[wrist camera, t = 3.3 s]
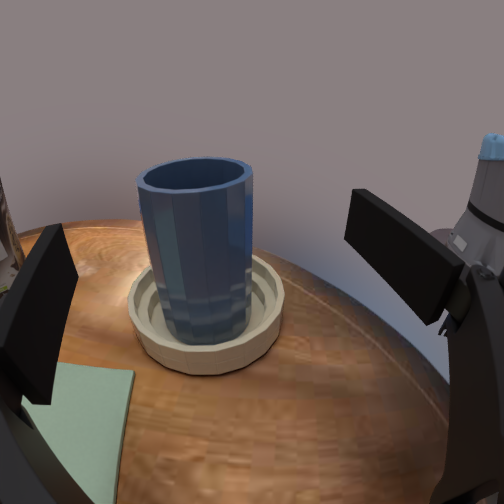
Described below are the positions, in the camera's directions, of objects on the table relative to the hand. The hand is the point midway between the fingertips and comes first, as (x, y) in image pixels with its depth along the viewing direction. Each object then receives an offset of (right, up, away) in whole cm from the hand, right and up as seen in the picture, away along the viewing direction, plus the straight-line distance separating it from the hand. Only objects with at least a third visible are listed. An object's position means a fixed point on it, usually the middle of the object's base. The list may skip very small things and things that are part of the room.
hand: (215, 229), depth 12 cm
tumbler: (-3, -7, +16) cm, 17 cm away
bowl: (-3, -7, +16) cm, 18 cm away
